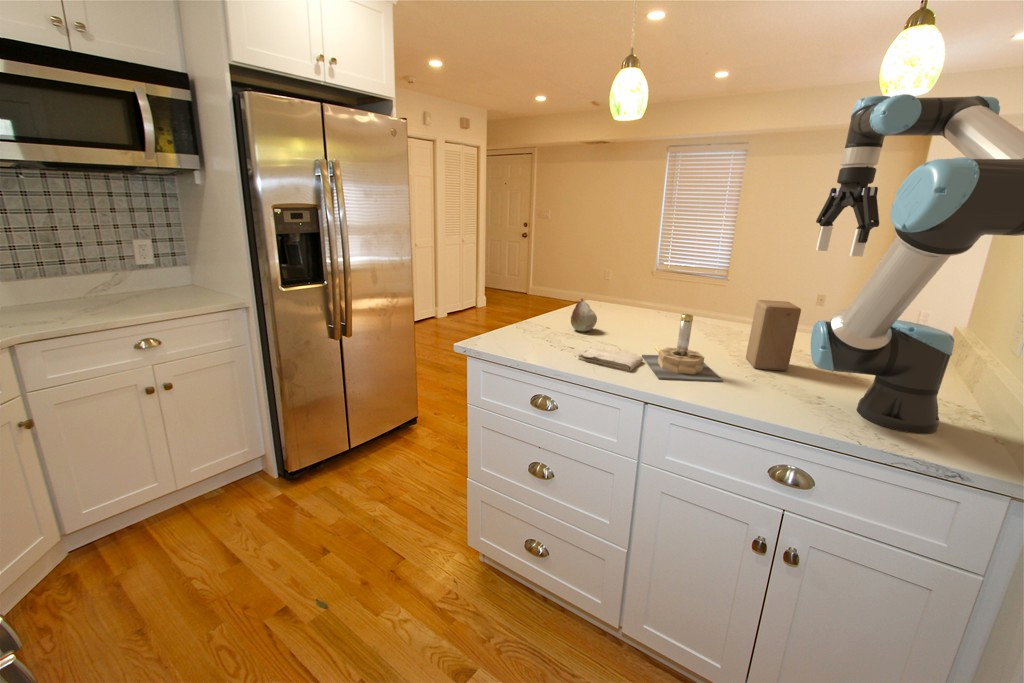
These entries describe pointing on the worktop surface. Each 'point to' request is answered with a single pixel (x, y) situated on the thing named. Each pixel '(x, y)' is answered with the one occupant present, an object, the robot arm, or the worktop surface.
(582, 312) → the fruit
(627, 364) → the washcloth
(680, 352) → the brass-banded steel rod
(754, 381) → the worktop surface
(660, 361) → the wooden ring socket base
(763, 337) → the wooden block
